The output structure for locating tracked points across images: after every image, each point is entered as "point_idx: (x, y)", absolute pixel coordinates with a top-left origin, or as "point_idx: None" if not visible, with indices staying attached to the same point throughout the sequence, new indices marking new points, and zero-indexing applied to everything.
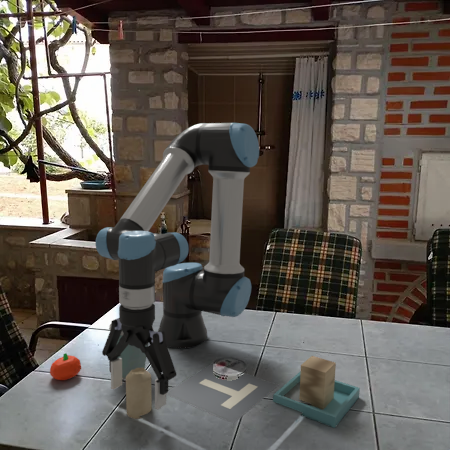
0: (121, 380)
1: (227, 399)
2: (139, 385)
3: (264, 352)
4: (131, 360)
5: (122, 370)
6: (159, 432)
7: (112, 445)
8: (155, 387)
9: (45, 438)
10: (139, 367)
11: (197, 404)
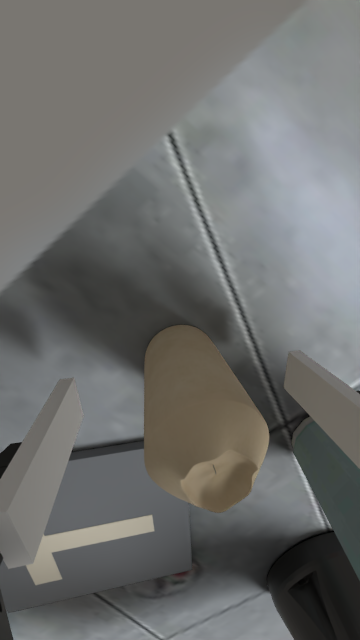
0: (295, 396)
1: None
2: (156, 415)
3: (144, 632)
4: (345, 477)
5: None
6: (55, 336)
7: (102, 195)
8: (28, 459)
9: (312, 58)
10: (309, 466)
11: (76, 469)
